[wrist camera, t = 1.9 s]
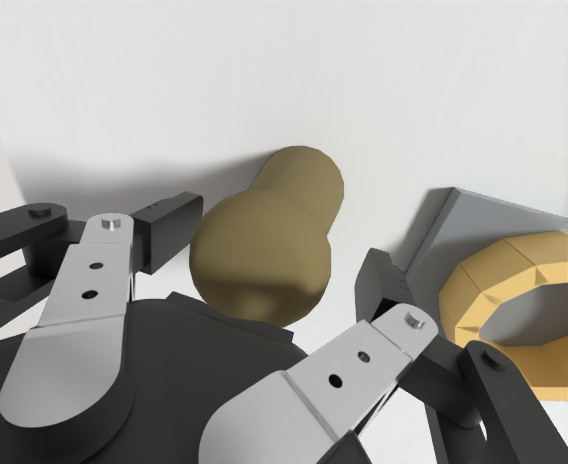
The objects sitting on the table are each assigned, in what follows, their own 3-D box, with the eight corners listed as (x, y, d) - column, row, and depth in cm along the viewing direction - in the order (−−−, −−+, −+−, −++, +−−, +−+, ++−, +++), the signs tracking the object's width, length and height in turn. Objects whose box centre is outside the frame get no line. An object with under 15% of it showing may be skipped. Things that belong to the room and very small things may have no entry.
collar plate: (453, 186, 16) (487, 210, 12) (705, 256, 15) (827, 306, 11) (381, 316, 21) (389, 361, 17) (564, 375, 20) (615, 437, 16)
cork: (336, 237, 19) (327, 374, 9) (256, 224, 20) (169, 336, 10) (352, 151, 16) (363, 213, 6) (258, 140, 17) (144, 181, 7)
